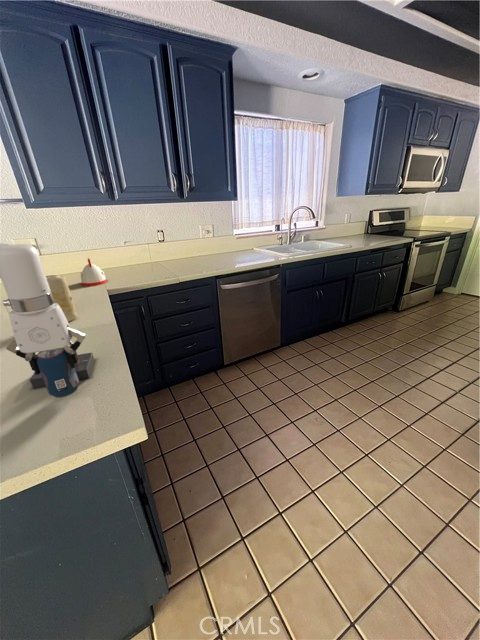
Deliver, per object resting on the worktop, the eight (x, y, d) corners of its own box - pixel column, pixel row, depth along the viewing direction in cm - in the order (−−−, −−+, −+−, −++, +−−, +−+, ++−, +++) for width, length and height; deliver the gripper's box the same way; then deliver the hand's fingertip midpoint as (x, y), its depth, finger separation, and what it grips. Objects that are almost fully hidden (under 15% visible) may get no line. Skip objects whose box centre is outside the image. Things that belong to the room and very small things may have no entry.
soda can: (50, 387, 70) (35, 349, 65) (80, 379, 74) (68, 341, 69) (49, 403, 65) (32, 362, 60) (81, 393, 68) (67, 353, 63)
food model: (78, 315, 119) (65, 272, 111) (77, 321, 114) (64, 276, 106) (52, 320, 115) (37, 275, 107) (51, 326, 110) (34, 279, 102)
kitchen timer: (104, 278, 177) (99, 255, 170) (108, 283, 166) (102, 259, 160) (81, 281, 170) (75, 258, 164) (83, 287, 159) (76, 262, 153)
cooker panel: (33, 388, 73) (29, 379, 72) (44, 368, 82) (41, 360, 80) (89, 378, 77) (86, 369, 76) (94, 360, 86) (92, 351, 84)
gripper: (-24, 313, 53) (9, 385, 61) (73, 302, 58) (93, 369, 66) (-6, 301, 60) (22, 367, 67) (80, 292, 65) (97, 354, 72)
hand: (57, 367), depth 66 cm, fingers closed on soda can, 7 cm apart
